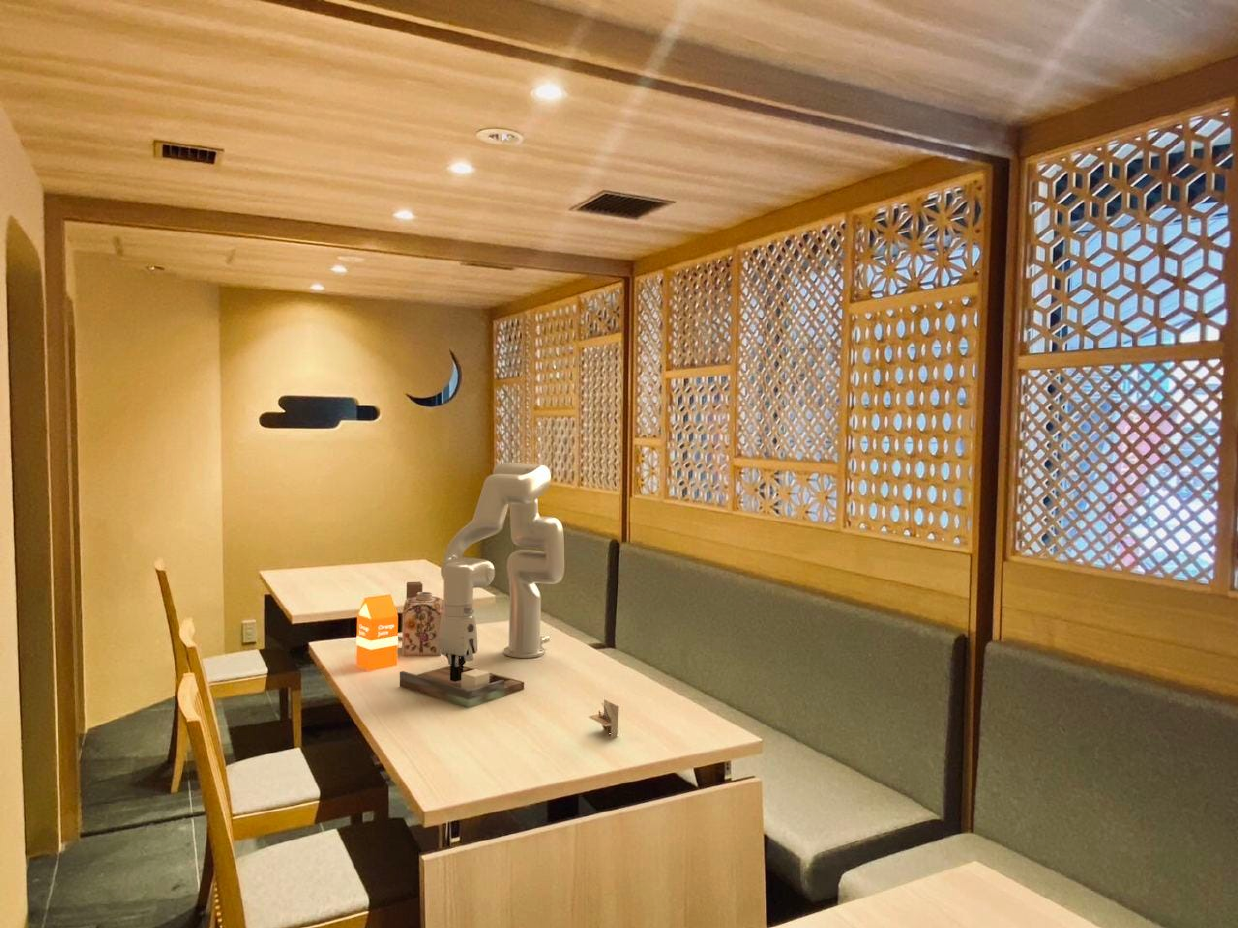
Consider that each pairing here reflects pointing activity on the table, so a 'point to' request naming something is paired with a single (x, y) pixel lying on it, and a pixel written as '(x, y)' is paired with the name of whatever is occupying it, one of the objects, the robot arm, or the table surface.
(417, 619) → the decorative jar
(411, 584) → the wooden block
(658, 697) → the table surface
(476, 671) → the block
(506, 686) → the board
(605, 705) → the architectural model
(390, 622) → the orange juice
